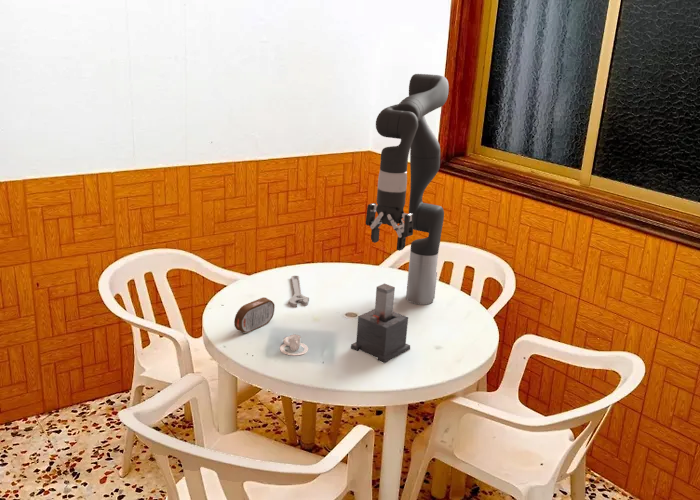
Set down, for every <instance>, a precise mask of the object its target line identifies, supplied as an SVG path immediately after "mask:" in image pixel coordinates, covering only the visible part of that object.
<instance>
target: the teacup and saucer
mask: <svg viewBox="0 0 700 500" xmlns="http://www.w3.org/2000/svg"><path fill="white" fill-rule="evenodd" d="M301 338H302V337H301V335H298V334H291V335H289V336H286V337H284V338H283V340H282V342H283V344H281V345H280V346H279V350H280V352H281V353H282V354H284V355H287V356H302V355H305V354H306V353H308V351H309V347H308V345H306V344H305V343H302V342H301ZM300 346H301V347H302V348H303V351H301V352H298V353H291V352H288V351H286V350H285V348H286V347H289V349H290V350H291V351H292V352H293V351H294V352H295V351H298V350H299V349H300Z"/></svg>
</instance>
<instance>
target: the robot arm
mask: <svg viewBox="0 0 700 500" xmlns="http://www.w3.org/2000/svg"><path fill="white" fill-rule="evenodd" d="M449 88H450V86H449V81H448V79H447V77H445V76H444V75H439V74H426V73H415V74H413V75H412V76H411V77H410V80H409V85H408V96H407V97H405V98H404V99H402V100H401V101H400V102H399V103H398V104H393V105H390V106H387V107H385V108H383V109H382V110H381V111H380V112H379V113H378V115H377V116H376V120H375V129H376V132H377V133H378V134H379V135H380V136H381V137H384V138H390V139H391V138H392V139H398V140H400V142H399V144H398V145H392V146H385V147H384V148H382V150H381V153H380V162H379V163H380V165H379V173H378V180H377V191H376V192H377V193H376V202H373V203H372V202H371V203H369V204H367V206H366V207H367V208H366V216H365V225H366V226H369V227H370V229H371V231H370V232H371V233H370V234H371V235H370V239H371V242H372V243H373V244H374V243H378V242H379V240H380V230H381V228H380V227H381V225H388V226H389V227H392V229H393V230H394V231H395V232H396V234H397V242H396V250H397V251H402V250H404V249H405V247H406V240H407V237H410V236H413V235H414V230H415V231H416V232H417V231H418V232H421V233H427V234H428V236H427V237H425V238H417V239H415V240H412V242H411V243H410V249H409V250H410V251H409V260H408V272H407V273H408V274H407V283H406V295H405V298H406V300H407V301H408V302H409V303H412V304H416V305H429V304H431V303H433V302H434V299H435V297H436V296H435V295H436V286H437V280H438V279H437V277H438V271H437V268H438V259H439V251H440V245H441V240H442V239H441V237H442V233H443V232H442V230H443V225H444V220H445V219H444V216H445V211H444V208H443V207H442V206H441V205H437V204H432V203H426V202H423V195H424V192H425V190H426V189H427V187H428V186H429V184H430V183H431V182H432V181H433V179H434V178H435V176H436V175H437V174H438V172H439V170H440V167H441V146H440V143H439V141H438V139H437V137H436V135H435V133H434V132H433V131H432V129H431V127H430V126H429V124H428V122H427V119H426V115H428V114H430V113H432V112H433V111H435V110H437V109H440V108H442V107H443V106H444V105H445V103H447V100H448V97H449V96H448V95H449V91H450V89H449ZM409 155H410V157H409ZM409 158H410V160H409ZM408 161H410V162H409V164H410V193H409V205H408V213H406V212H405V211H404V207H405V205H406V195H407V187H408V186H407V185H408V174H407V173H408ZM376 215H377V216H376Z"/></svg>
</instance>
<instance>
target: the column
mask: <svg viewBox="0 0 700 500" xmlns="http://www.w3.org/2000/svg"><path fill="white" fill-rule="evenodd" d="M395 288H396V287H395V286H392V285H390V284H386V283H383V284H379V285H378V286H376V289H375V290H376V291H375V302H374V303H375V304H374V309H375V314H374V315H377V316H379V320H380V321H382V322H388V321H390V320H392V314H393V312H394V302H395Z"/></svg>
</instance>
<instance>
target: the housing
mask: <svg viewBox="0 0 700 500" xmlns="http://www.w3.org/2000/svg"><path fill="white" fill-rule="evenodd" d="M374 314H375V308H374V309H371V310H369V311H366V312H364V313H362V314H360V315H358V316H357V329H356V342H354V343H352V344H351V345H350V348H351V350H354V351H357V352H358V351H361V352H363V353H365V354H368V355H370V356H372V357H375V358H376V359H377V362H380V363H382V364H386V363H388V362H390V361H391V360H393V359H395V358H397V357H398V356H401V355H402V354H404V353H406V352H408V351H410V350H411V345H410V344H408V343H406V342H407V333H408V325H409V324H408V323H409V317H408V316H406V315H403V314H401V313H398V312H396V311H393V314H392V320H390V321H388V322H382V321H380V320H379V316H377V315H374Z"/></svg>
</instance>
